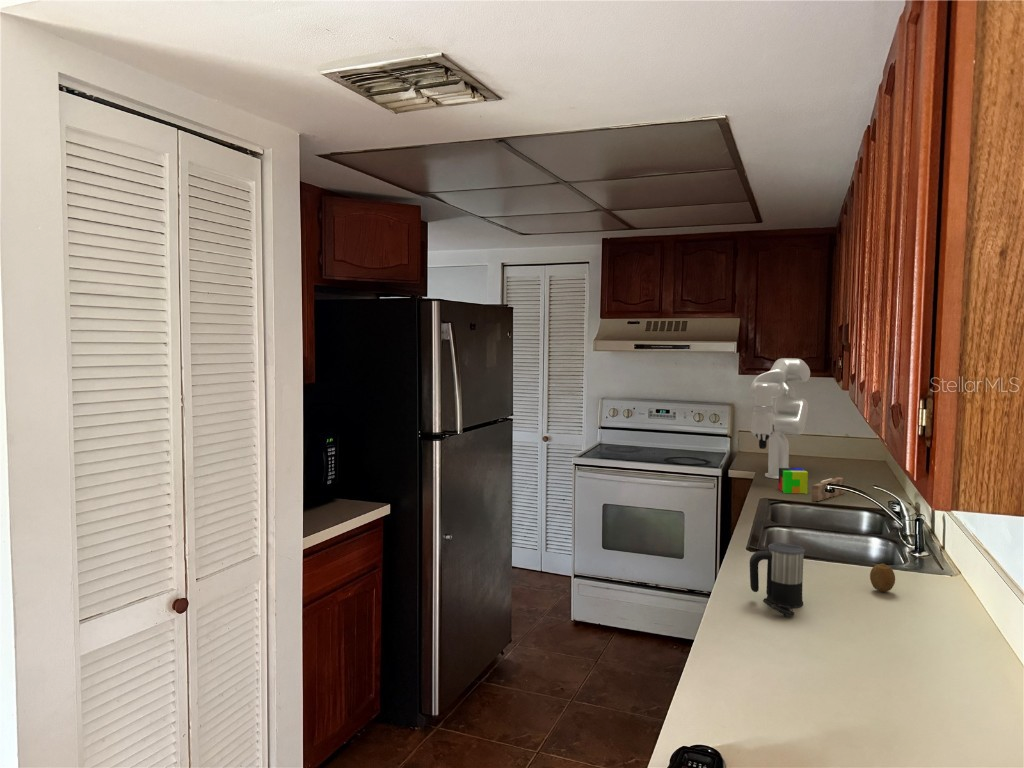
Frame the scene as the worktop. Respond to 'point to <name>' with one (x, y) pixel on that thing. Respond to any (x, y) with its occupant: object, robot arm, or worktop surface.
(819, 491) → the wooden notched board
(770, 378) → the robot arm
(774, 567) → the milk frother
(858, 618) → the worktop surface
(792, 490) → the puzzle toy
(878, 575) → the fruit
